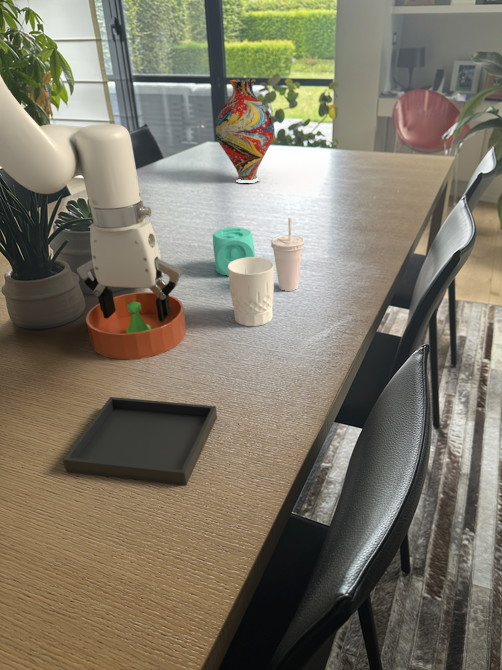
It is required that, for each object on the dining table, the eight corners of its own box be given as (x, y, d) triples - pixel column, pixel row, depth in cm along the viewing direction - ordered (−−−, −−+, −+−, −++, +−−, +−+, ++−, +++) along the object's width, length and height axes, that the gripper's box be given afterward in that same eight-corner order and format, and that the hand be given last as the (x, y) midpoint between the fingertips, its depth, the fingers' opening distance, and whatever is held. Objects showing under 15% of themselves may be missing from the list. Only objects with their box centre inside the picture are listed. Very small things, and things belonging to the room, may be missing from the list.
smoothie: (293, 297, 106) (292, 225, 98) (266, 290, 109) (263, 219, 101) (310, 285, 110) (311, 215, 103) (283, 279, 113) (282, 211, 106)
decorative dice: (251, 261, 122) (249, 225, 118) (255, 275, 115) (253, 237, 111) (215, 264, 121) (211, 228, 117) (217, 278, 114) (214, 241, 110)
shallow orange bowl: (74, 355, 89) (68, 331, 86) (115, 312, 102) (111, 290, 99) (167, 362, 86) (163, 337, 84) (197, 317, 99) (195, 294, 97)
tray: (66, 471, 65) (62, 459, 64) (112, 407, 76) (110, 396, 75) (186, 485, 63) (184, 473, 62) (217, 417, 74) (215, 406, 73)
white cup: (268, 305, 103) (266, 254, 97) (281, 324, 96) (280, 270, 91) (227, 312, 101) (222, 260, 95) (237, 331, 94) (234, 277, 89)
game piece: (150, 338, 92) (144, 306, 89) (124, 340, 92) (117, 307, 89) (153, 326, 96) (148, 295, 92) (128, 328, 95) (122, 296, 92)
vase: (207, 183, 182) (198, 82, 166) (242, 172, 195) (237, 76, 179) (253, 191, 173) (247, 84, 157) (286, 178, 186) (285, 78, 170)
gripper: (180, 208, 84) (193, 309, 94) (76, 206, 87) (99, 304, 97) (163, 223, 78) (178, 330, 87) (52, 220, 81) (78, 324, 90)
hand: (137, 316), depth 92 cm, fingers open, 9 cm apart
